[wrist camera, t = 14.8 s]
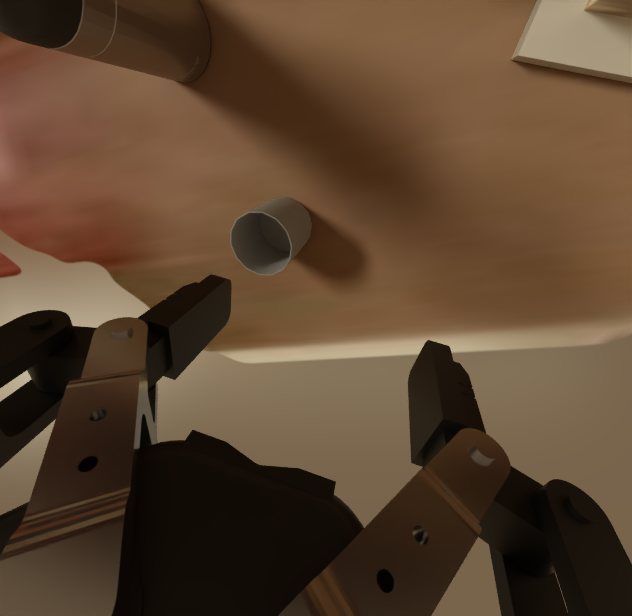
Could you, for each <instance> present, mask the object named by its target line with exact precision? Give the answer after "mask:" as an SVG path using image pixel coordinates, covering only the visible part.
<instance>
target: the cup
mask: <svg viewBox="0 0 632 616" xmlns="http://www.w3.org/2000/svg"><path fill="white" fill-rule="evenodd" d="M311 230H312V222H311V219H310V215H309V212H308V211H307V210H306V209H305V208H304V206H303V205H302V204H301V203H300V202H298V201H296V200H294V199H292V198H290V197H277V198H275V199H273V200H271V201H269V202H267V203H265V204H263V205H261V206H258V207H256V208H254V209H252V210H250V211H248V212H247V213H245V214H243V215H242V216H240V217H239V218H237V219H236V221H235V223H234V225H233V227H232V229H231V231H230V235H231V247H232V249H233V252H234V254H235V256H236V258H237V259H238V260H239V262H240V263H241V264H242V265H243V266H244V267H245V268H246V269H248V270H250V271H252V272H254V273H256V274H258V275H274V274H276V273H278V272H280V271H282V270H284V269H285V267H286V266H287V265H288V264H289V263H290V262H291V260H292V259H293V258H294V257H295V256H296V255H297V253H298V252H299V251H300V250H301V249H302V248H303V246H304V245H305V244H306V242H307V241H308V240H309V238H310V237H311Z"/></svg>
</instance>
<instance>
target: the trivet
mask: <svg viewBox="0 0 632 616" xmlns="http://www.w3.org/2000/svg"><path fill="white" fill-rule="evenodd" d="M588 1H589V0H537V1H536V3H535V6H534V8H533V10H532V13H531V15H530V17H529V20H528V22H527V24H526V26H525V29H524V31H523V33H522V36H521V38H520V40H519V43H518V45H517V47H516V49H515V52H514V54H513V56H512V59H511V60H514V61H519V62H524V63H530V64H535V65H540V66H545V67H550V68H555V69H560V70H566V71H571V72H576V73H581V74H586V75H591V76H596V77H601V78H607V79H612V80H617V81H622V82H627V83H632V18H628V17H622V16H616V15H610V14H604V13H598V12H592V11H586V10H584V9H585V7H586V5H587V3H588Z"/></svg>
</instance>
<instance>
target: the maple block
mask: <svg viewBox="0 0 632 616" xmlns="http://www.w3.org/2000/svg"><path fill="white" fill-rule="evenodd" d="M584 10H586V11H592V12H598V13H604V14H610V15H616V16H622V17H628V18H632V0H589V1H588V3H587V5H586V7H585V9H584Z"/></svg>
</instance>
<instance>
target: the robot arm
mask: <svg viewBox="0 0 632 616" xmlns="http://www.w3.org/2000/svg"><path fill="white" fill-rule="evenodd" d="M0 32H2V33H4V34H5V35H7V36H9V37H12V38H14V39H16V40H19V41H22V42H26V43H29V44H33V45H37V46H41V47H45V48H48V49H52V50H56V51H60V52H64V53H68V54H72V55H76V56H80V57H84V58H88V59H92V60H96V61H100V62H104V63H107V64H111V65H115V66H119V67H123V68H127V69H131V70H135V71H139V72H143V73H147V74H150V75H154V76H158V77H162V78H166V79H170V80H174V81H178V82H190V81H193V80H195V79H196V78H198V77H199V76H200V75H201V74H202V72H203V71H204V70H205V67H206V65H207V63H208V59H209V55H210V45H211V42H210V31H209V26H208V22H207V19H206V16H205V13H204V11H203V9H202V7H201V5H200V3H199V2H198V0H0ZM230 312H231V281H230V280H229V279H226V278H222V277H219V276H216V275H209V276H208V277H206V278H205V279H204V280H202V281H201V282H200V283H197V282H195V283H192V284H189V285H186V286H183V287H182V288H180V289H179V290H177V291H176V292H174V294H171V295H170V296H169V297H167V298H166V300H163V301H161V302H160V303H158V304H157V305H156V306H154V307H153V308H151V309H150V310H148V311H147V312H146V313H144V314H143V315H141V316H140V317H138V318H131V317H126V318H125V317H124V318H117V319H113V320H110V321H107V322H105V323H103V324H102V325H100V326H99V327H98V328H91V327H78V326H72V323H71V320H70V317H69V316H68V315H67V314H66V313H64V312H62V311H56V310H44V311H37V312H32V313H29V314H26V315H23V316H21V317H18V318H16V319H14V320H12V321H10V322H9V323H7V324H5V325H3V326H1V327H0V388H1V387H3V386H4V385H5V384H7V383H9V382H10V381H12V380H13V379H14V378H16V377H17V376H19V375H20V374H22V373H23V372H25V371H26V370H27V371H28V373H29V374H30V376H31V378H32V380H30V381H29V382H27V383H26V384H25V385H23V386H22V387H20V388H19V389H18V390H16V391H15V392H14V393H12V394H11V395H9V396H8V397H7V398H5V399H4V400H2V401H1V402H0V468H1V467H2V466H3V465H4V464H5V463H7V462H8V461H9V460H10V459H11V458H12V457H13V456H14V455H15V454H17V453H18V452H19V451H20V450H21V449H22V448H23V447H24V446H26V445H27V444H28V443H29V442H30V441H31V440H32V439H34V438H35V437H36V436H37V435H38V434H39V433H40V432H41V431H43V430H44V429H45V428H46V427H47V426H48V425H49V424H50V423H51V422H53V421H54V420H55V419H56V421H55V424H54V427H53V430H52V433H51V436H50V439H49V442H48V445H47V448H46V451H45V454H44V458H43V461H42V464H41V467H40V470H39V473H38V476H37V479H36V482H35V486H34V488H33V492H32V495H31V498H30V501H29V502H28V503H25V504H23V505H21V506H19V507H17V508H15V509H13V510H11V511H9V512H6V513H4V514H2V515H0V616H431V615H432V613H433V612H434V610H435V609H436V607H437V605H438V603H439V602H440V600H441V598H442V597H443V595H444V593H445V592H446V590H447V588H448V587H449V585H450V583H451V582H452V580H453V578H454V577H455V575H456V573H457V571H458V570H459V568H460V567H461V565H462V563H463V561H464V560H465V558H466V556H467V554H468V553H469V551H470V550H471V548H472V546H473V545H474V543H475V541H476V540H477V538H478V537H479V538H481V539H482V540H484V541H485V542H486V543H488V544H489V547H490V553H491V559H492V564H493V570H494V576H495V581H496V587H497V593H498V598H499V604H500V610H501V615H502V616H632V564H631V562H630V560H629V558H628V556H627V554H626V552H625V550H624V548H623V546H622V544H621V542H620V540H619V538H618V536H617V534H616V532H615V530H614V528H613V526H612V524H611V522H610V521H609V519H608V517H607V516H606V514H605V513H604V511H603V510H602V509H601V508H600V507H599V505H598V504H597V503H596V502H595V501H594V500H593V499H592V498H591V497H590V496H588V495H587V494H586V493H585V492H584V491H582V490H581V489H579V488H578V487H576V486H574V485H573V484H571V483H569V482H566V481H563V480H559V479H554V480H551V481H549V482H548V483H547V484H545V485H544V486H543V485H541V484H540V483H538V482H536V481H535V480H533V479H531V478H530V477H528V476H526V475H525V474H523V473H521V472H520V471H518V470H516V469H515V468H513V467H512V466H511V465H510V461H509V459H508V456H507V455H506V453H505V451H504V450H503V448H502V447H501V446H500V445H499V444H498V443H497V442H496V441H495V440H494V439H493V438H491V437H490V436H489V435H487V434H486V431H485V428H484V424H483V422H482V418H481V415H480V411H479V408H478V405H477V401H476V399H475V398H474V397H475V395H474V391H473V389H472V385H471V381H470V378H469V375H468V374H467V372H466V371H465V370H464V368H463V367H462V366H461V364H460V363H457V362H454V361H453V358H452V354H451V350H450V347H449V346H447V345H444V344H440V343H437V342H434V341H430V340H428V341H427V342H426V343H425V344H424V346H423V348H422V350H421V352H420V354H419V356H418V358H417V359H416V362H415V363H414V365H413V367H412V369H411V371H410V375H409V379H408V394H409V395H408V397H409V420H410V443H411V462H412V463H414V464H416V465H419V466H422V467H423V468H422V469H421V470H420V471H419V472H418V473H417V474H416V475H415V476H414V477H413V478H412V479H411V480H410V481H409V482H408V483H407V484H406V485H405V486H404V487H403V488H402V489H401V490H400V491H399V493H397V495H396V496H395V497H394V498H393V499H392V500H391V501H390V502H389V503H388V504H387V505H386V506H385V507H384V508H383V509H382V510H381V511H380V512H379V513H378V514H377V515H376V516H375V517H374V518H373V520H372V521H371V522H370V523H369V524H368V525H367V526H366V527H365V528H364V527H363V525H362V524H361V522H360V521H359V519H358V518H357V517H356V515H355V514H354V513H353V512H352V510H350V508H349V507H348V506H347V505H346V504H345V503H344V502H343V501H342V500H341V499H339V498H338V497H337V496H335V495H334V489H335V483H336V482H335V481H332V480H329V479H327V478H324V477H321V476H318V475H316V474H313V473H310V472H307V471H304V470H302V469H299V468H288V467H287V468H286V467H275V466H262V465H258V464H256V463H254V462H253V461H252V460H250V459H249V458H247V457H246V456H245V455H243V454H242V453H240V452H239V451H238V450H237V449H235V448H234V447H233V446H231V445H230V444H228V443H227V442H225V441H222V440H219V439H216V438H214V437H211V436H208V435H205V434H203V433H200V432H197V431H195V430H192V431H191V433H190V434H189V436H188V437H187V439H186V440H185V441H184V440H178V441H166V442H160V443H158V440H157V401H158V400H157V399H158V397H157V396H158V384H157V381H158V380H159V379H160V378H161V377H162V376H165V377H168V378H171V379H174V380H175V379H176V378H177V377H178V376H179V375H180V374H181V373H182V372H183V371H184V370H185V369H186V367H187V366H188V365H189V364H190V363H191V362H192V361H193V360H194V359H195V358H196V356H197V355H198V354H199V353H200V352H201V351H202V350H203V349H204V348H205V347H206V346H207V345H208V343H209V342H210V341H211V340H212V339H213V338H214V337H215V336H216V335H217V334H218V333H219V331H220V330H221V329H222V328H223V327H224V326H225V325H226V323H227V322H228V319H229V317H230ZM555 572H556V575H557V578H558V581H559V584H560V587H559V584H558V581H557V578H556V575H555ZM560 588H561V591H562V594H563V597H564V600H565V603H566V606H567V609H566V606H565V603H564V600H563V597H562V594H561V591H560ZM567 610H568V612H567Z"/></svg>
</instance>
